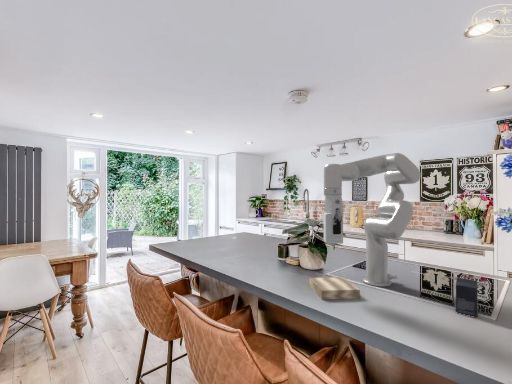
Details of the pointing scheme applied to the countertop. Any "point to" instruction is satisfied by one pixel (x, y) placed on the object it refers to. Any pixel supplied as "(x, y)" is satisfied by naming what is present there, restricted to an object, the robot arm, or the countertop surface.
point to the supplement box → (331, 230)
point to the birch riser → (334, 288)
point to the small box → (466, 297)
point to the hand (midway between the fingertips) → (332, 232)
